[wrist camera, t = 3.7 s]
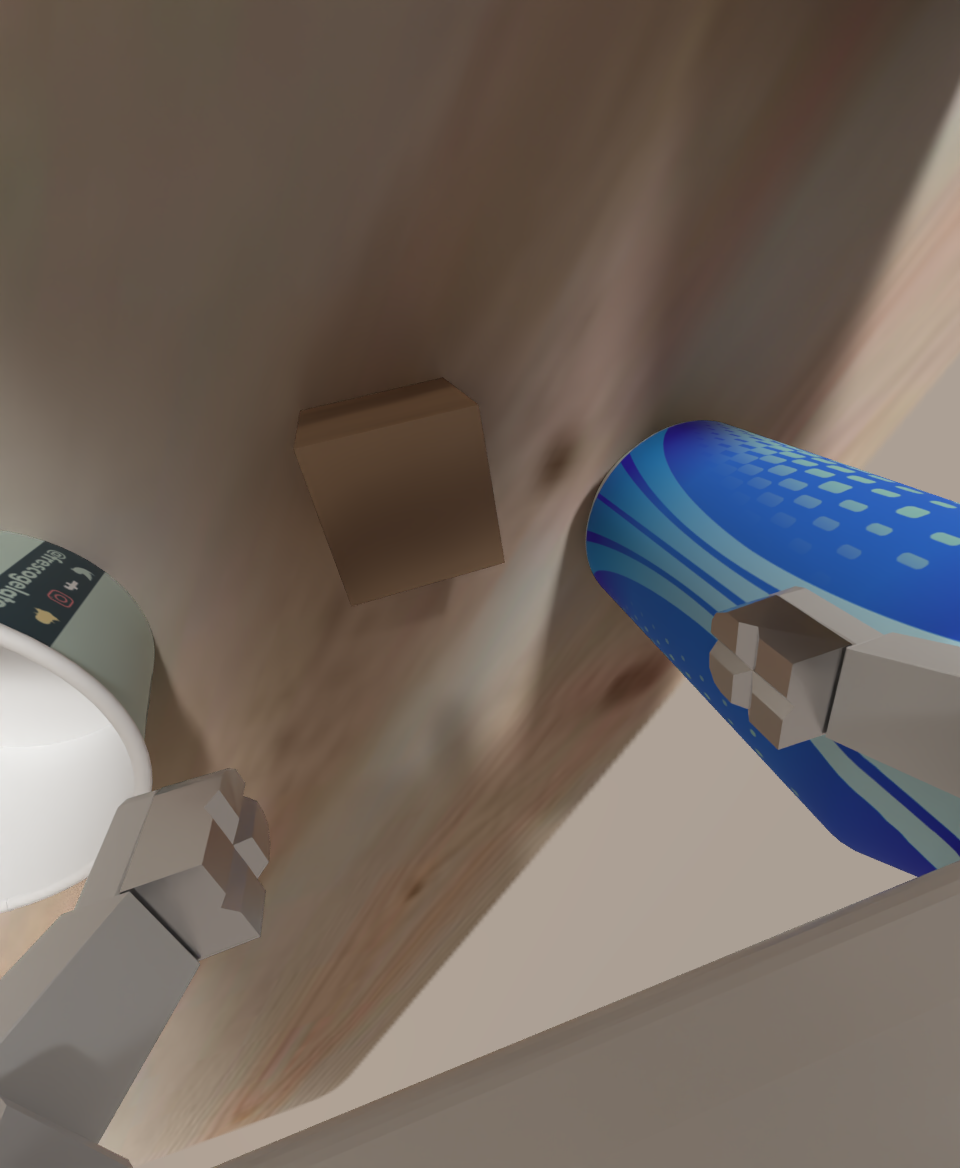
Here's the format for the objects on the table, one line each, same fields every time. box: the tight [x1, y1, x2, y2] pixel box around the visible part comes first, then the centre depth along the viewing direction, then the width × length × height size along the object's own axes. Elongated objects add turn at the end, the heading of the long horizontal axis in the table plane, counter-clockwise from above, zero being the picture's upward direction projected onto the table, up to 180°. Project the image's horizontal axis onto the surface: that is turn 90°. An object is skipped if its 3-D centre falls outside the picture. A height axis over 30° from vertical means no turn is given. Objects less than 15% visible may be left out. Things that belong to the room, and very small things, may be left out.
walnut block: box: [294, 378, 505, 606], centre depth 17 cm, size 5×5×5 cm
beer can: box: [586, 420, 960, 877], centre depth 16 cm, size 8×8×16 cm
